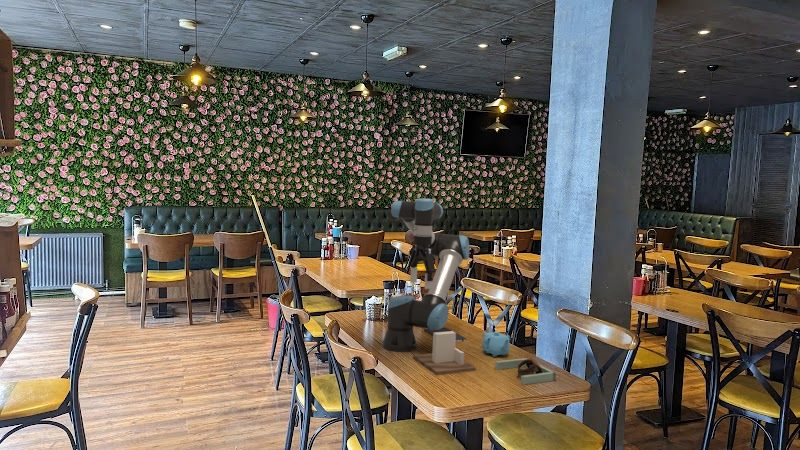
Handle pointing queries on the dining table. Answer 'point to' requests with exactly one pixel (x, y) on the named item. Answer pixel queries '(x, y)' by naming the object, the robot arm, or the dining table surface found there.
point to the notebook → (458, 337)
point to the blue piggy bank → (496, 343)
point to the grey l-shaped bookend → (446, 348)
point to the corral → (527, 379)
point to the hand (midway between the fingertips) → (420, 285)
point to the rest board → (442, 365)
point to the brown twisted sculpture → (529, 367)
